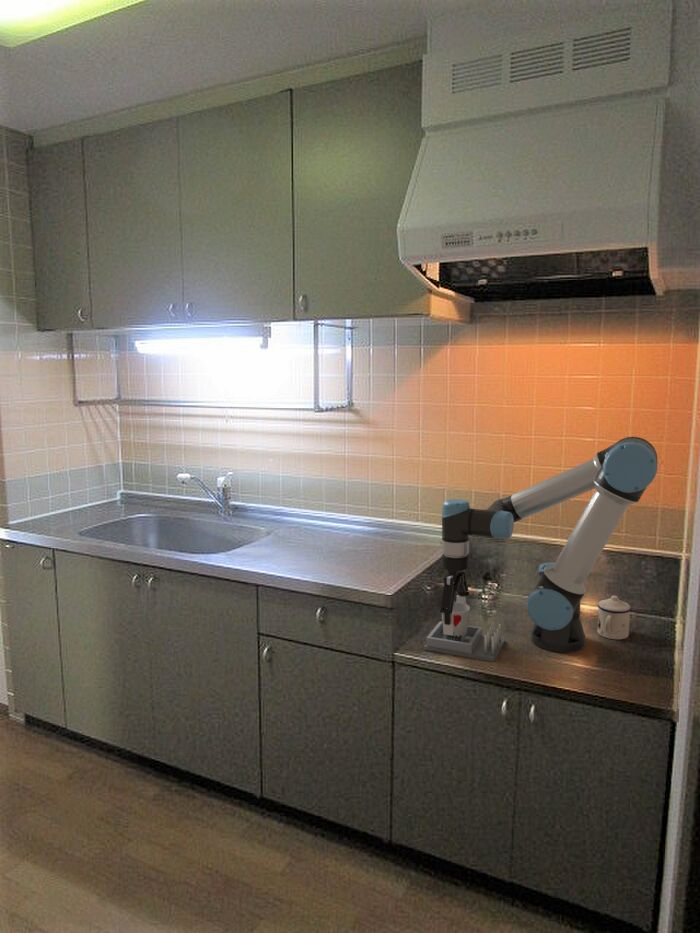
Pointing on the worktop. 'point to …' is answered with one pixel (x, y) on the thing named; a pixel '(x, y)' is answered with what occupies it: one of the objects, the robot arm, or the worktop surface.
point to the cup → (459, 622)
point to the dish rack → (467, 643)
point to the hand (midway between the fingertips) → (454, 625)
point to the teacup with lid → (613, 618)
